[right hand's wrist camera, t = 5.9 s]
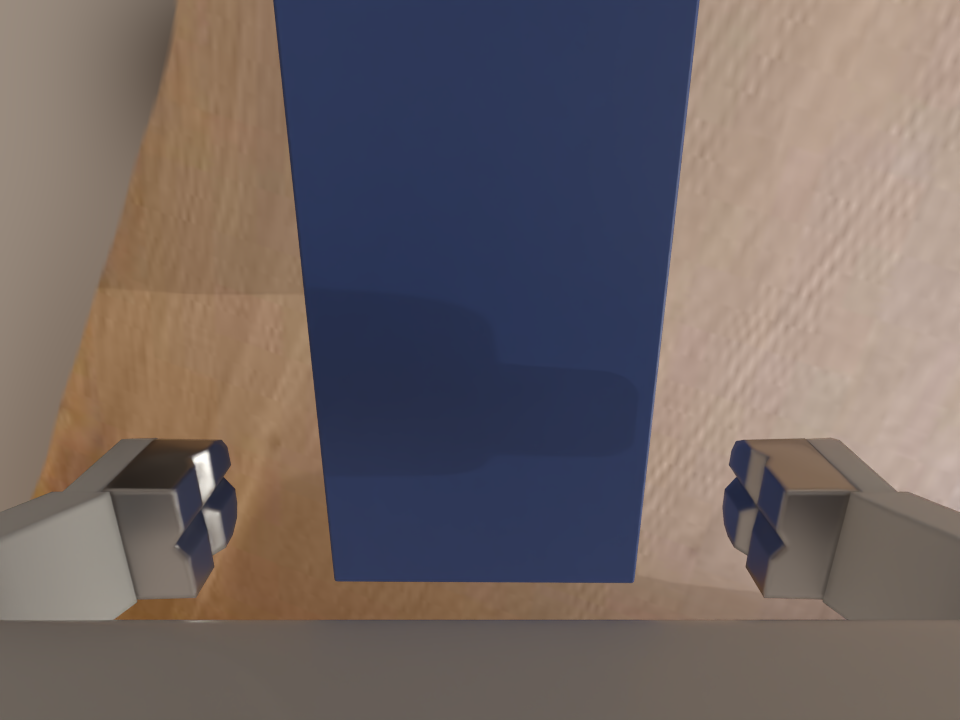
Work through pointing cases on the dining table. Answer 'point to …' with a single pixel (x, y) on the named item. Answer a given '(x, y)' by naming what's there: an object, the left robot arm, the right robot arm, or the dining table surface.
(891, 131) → the dining table surface
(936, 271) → the dining table surface
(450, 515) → the box
